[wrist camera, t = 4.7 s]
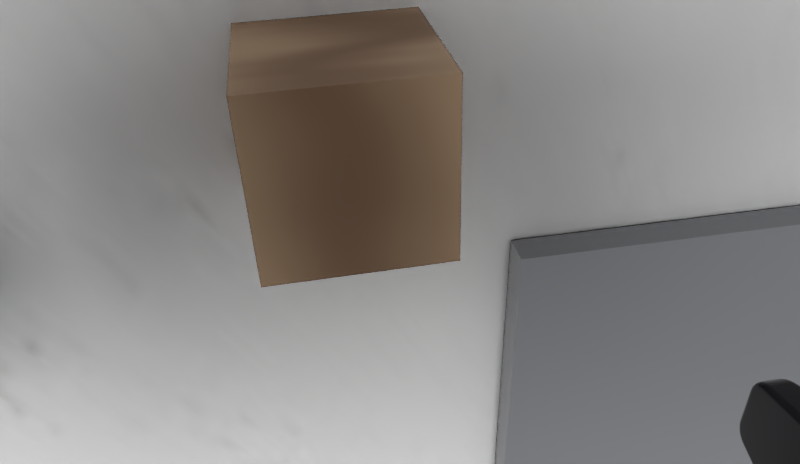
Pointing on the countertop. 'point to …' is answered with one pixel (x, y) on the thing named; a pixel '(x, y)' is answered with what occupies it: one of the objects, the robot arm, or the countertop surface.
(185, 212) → the countertop surface
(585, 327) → the slate pad
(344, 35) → the walnut block
